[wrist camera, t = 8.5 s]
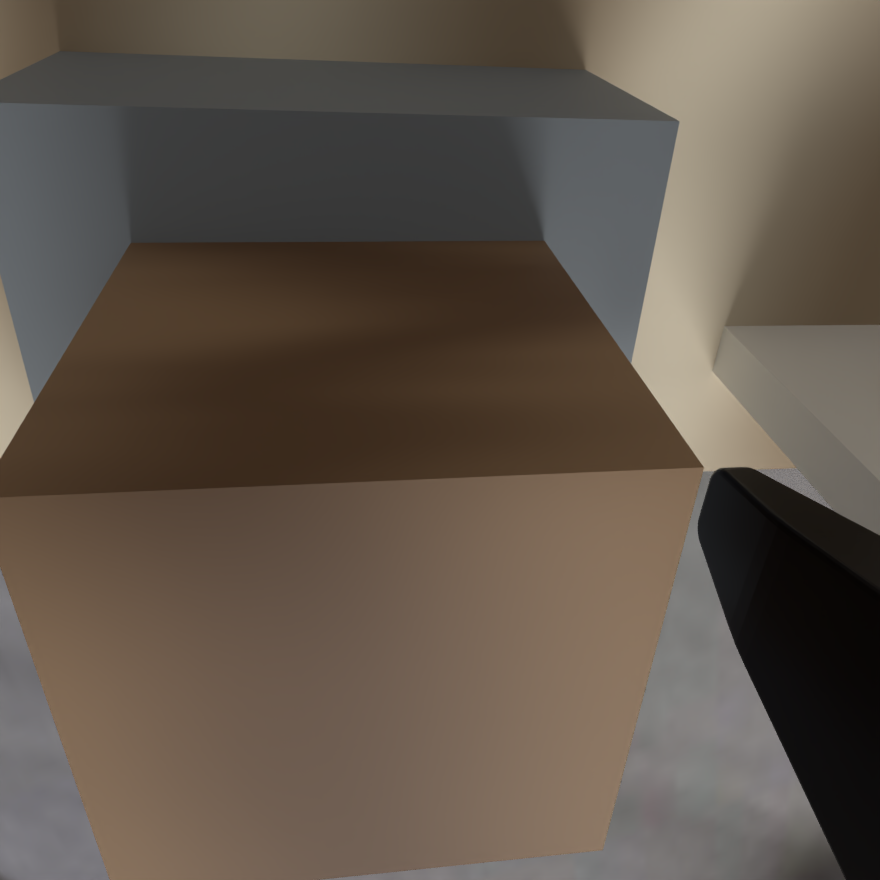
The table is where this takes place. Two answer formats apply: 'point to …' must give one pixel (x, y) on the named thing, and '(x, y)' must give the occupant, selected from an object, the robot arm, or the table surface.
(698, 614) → the table surface
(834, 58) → the birch board
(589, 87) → the slate block
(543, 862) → the table surface
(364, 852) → the walnut cube
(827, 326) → the plaque
